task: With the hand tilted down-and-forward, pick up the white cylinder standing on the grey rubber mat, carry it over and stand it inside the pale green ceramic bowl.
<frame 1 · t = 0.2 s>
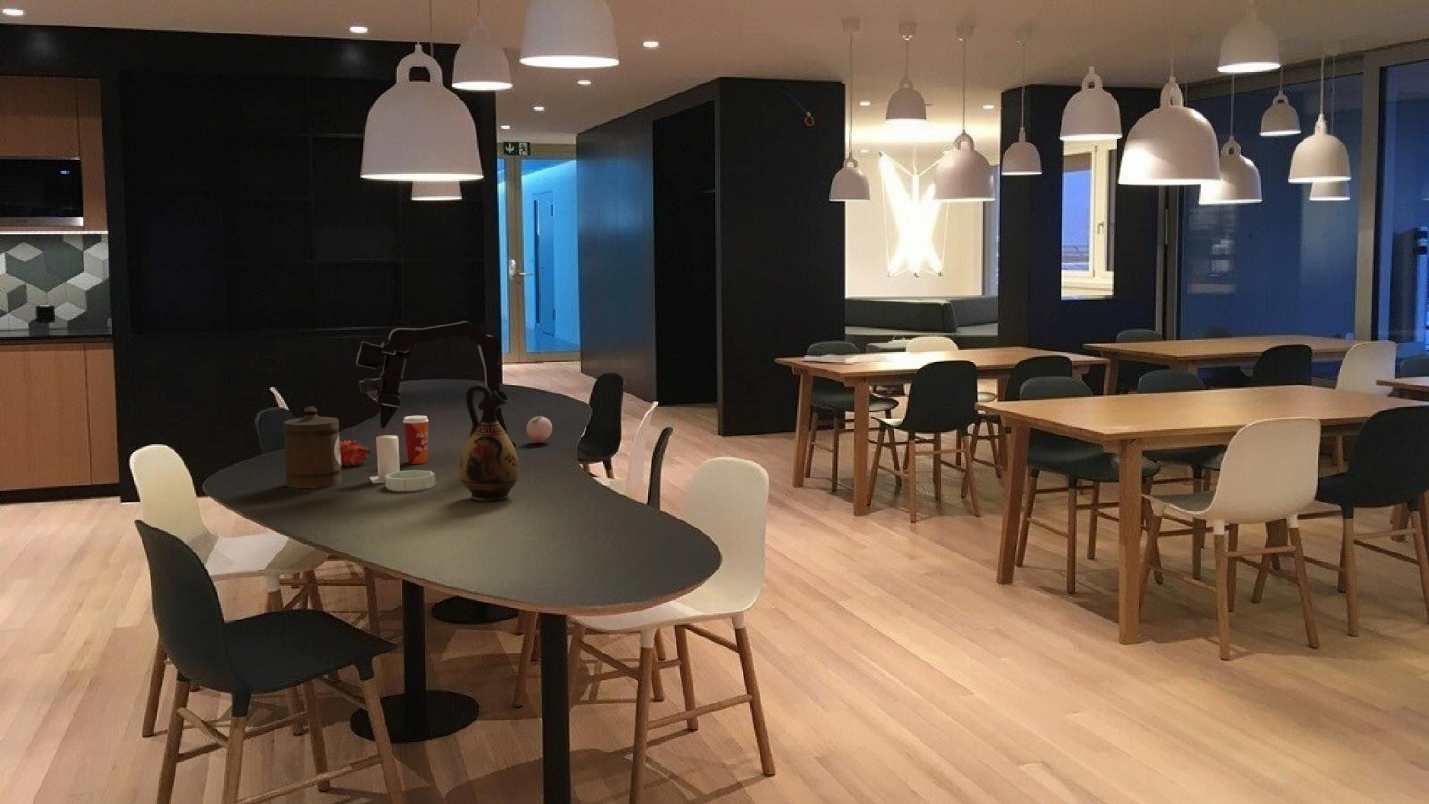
hand: (381, 426, 354), 15 cm above the table, tool pointing down, fingers open, 9 cm apart
mat: (389, 479, 355), on the table
ceramic jug: (488, 498, 329), on the table
dragon fruit: (351, 465, 379), on the table
wooden container: (314, 485, 350), on the table
bowl: (410, 487, 344), on the table
paper cup: (417, 462, 382), on the table
decorative fruit: (540, 443, 414), on the table
white cylinder: (389, 478, 355), resting on mat
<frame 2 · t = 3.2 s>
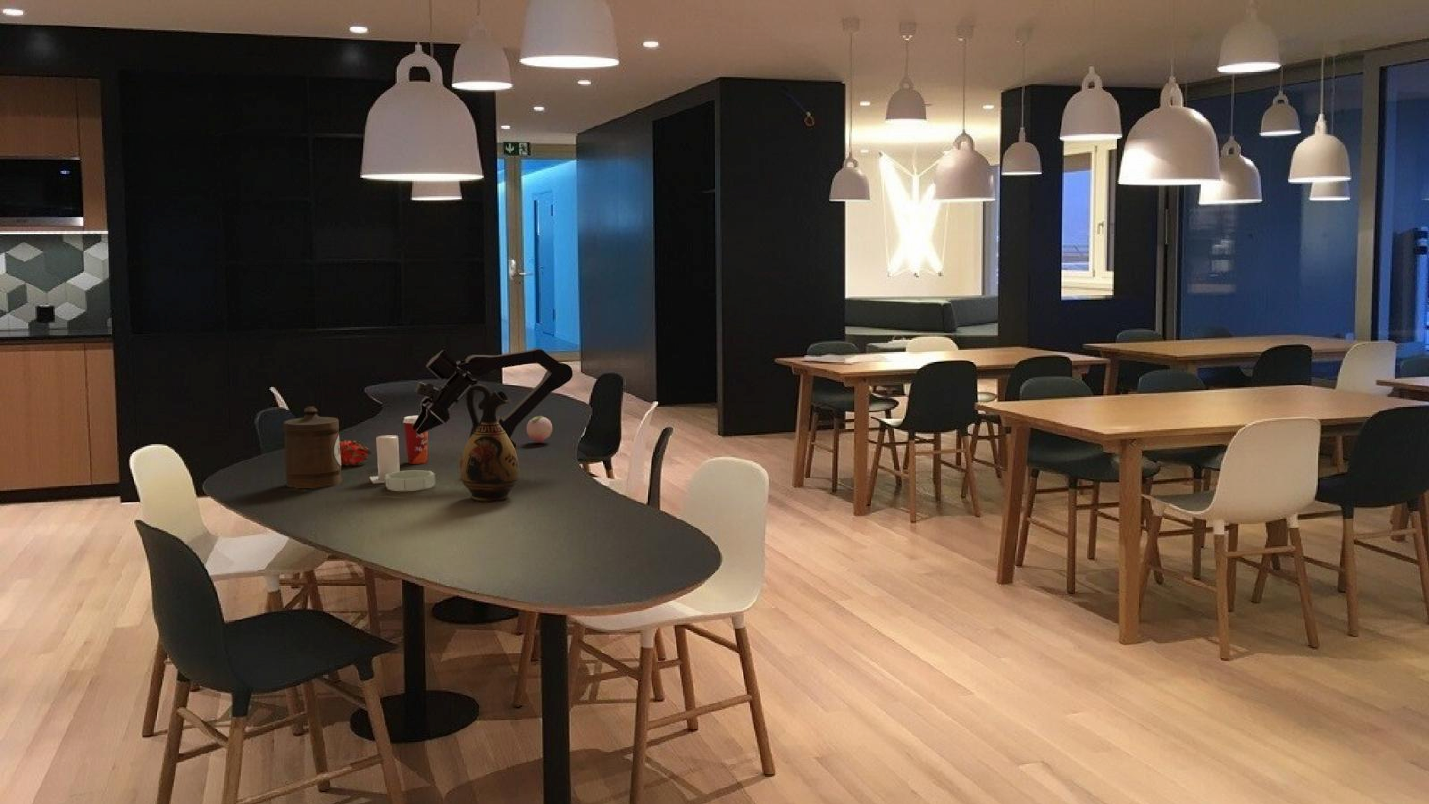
hand: (415, 431, 356), 13 cm above the table, tool tilted 45°, fingers open, 9 cm apart
nothing on the table moved.
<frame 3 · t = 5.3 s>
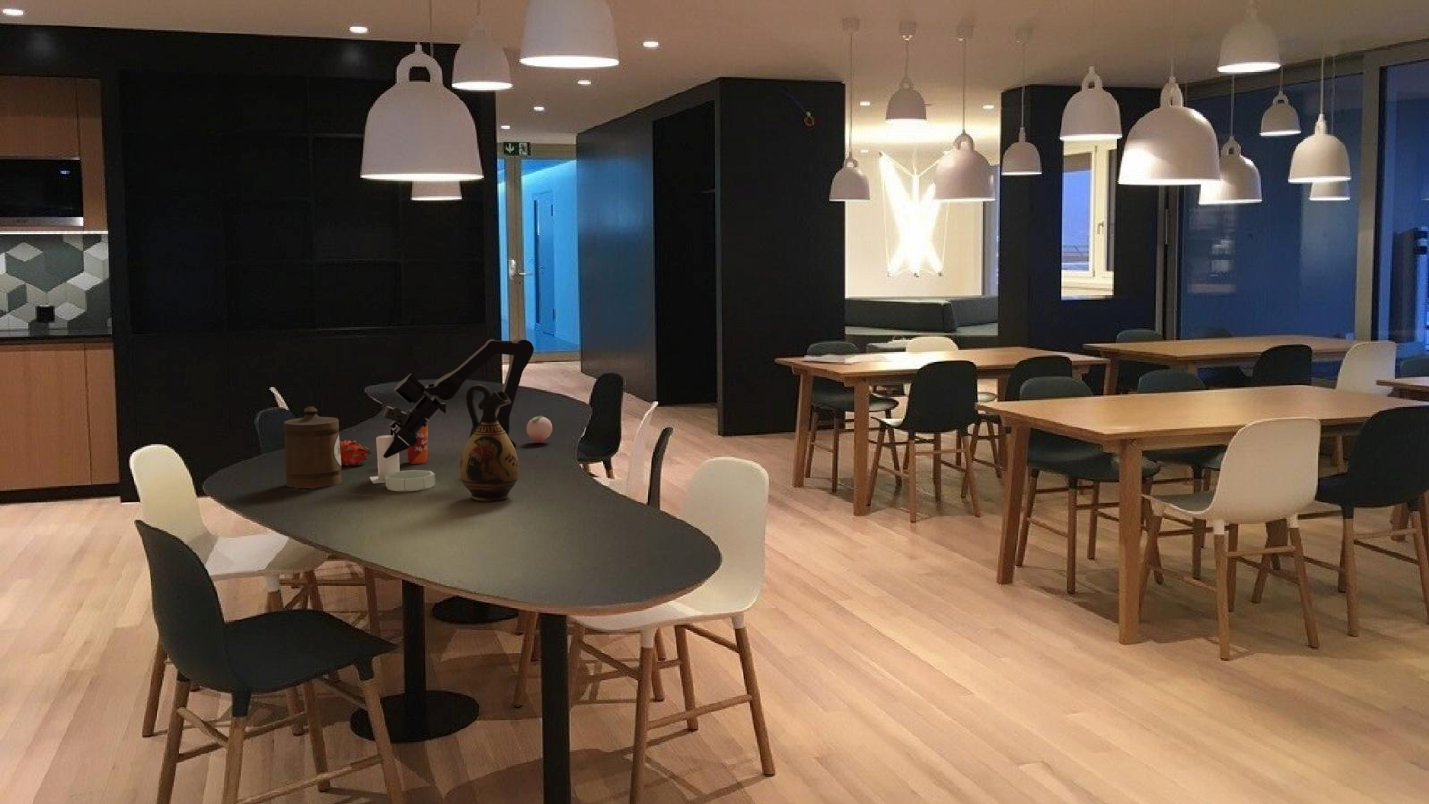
hand: (383, 455, 354), 7 cm above the table, tool tilted 45°, fingers closed on white cylinder, 6 cm apart
white cylinder: (389, 478, 355), resting on mat, touching gripper
everything else where it was.
when the fingers open (9 cm above the table, at t = 9.1 s): white cylinder drops 1 cm, resting on bowl.
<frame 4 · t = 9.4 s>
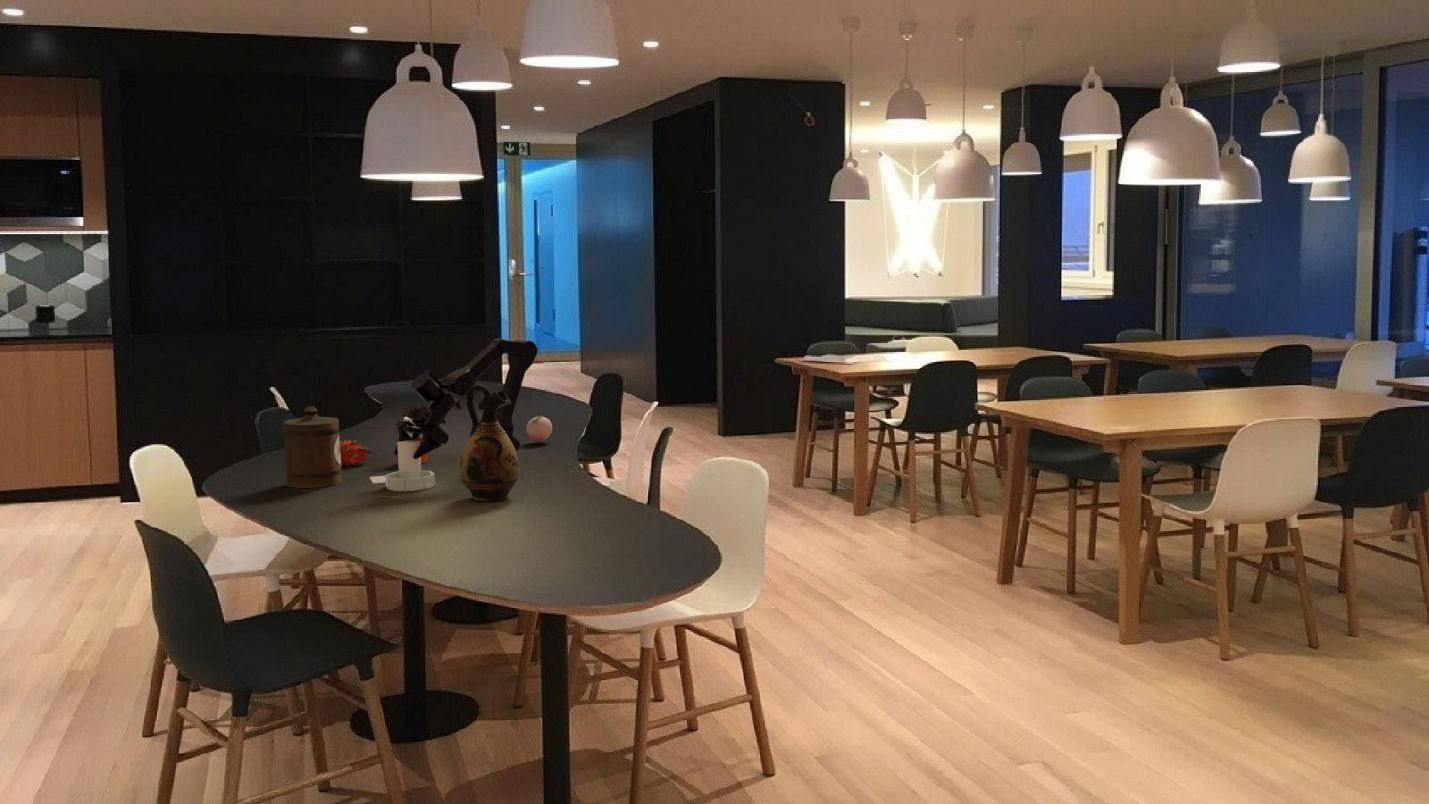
hand: (404, 456, 341), 9 cm above the table, tool tilted 45°, fingers open, 9 cm apart
white cylinder: (410, 485, 344), point 1 cm above the table, touching bowl
everything else where it was.
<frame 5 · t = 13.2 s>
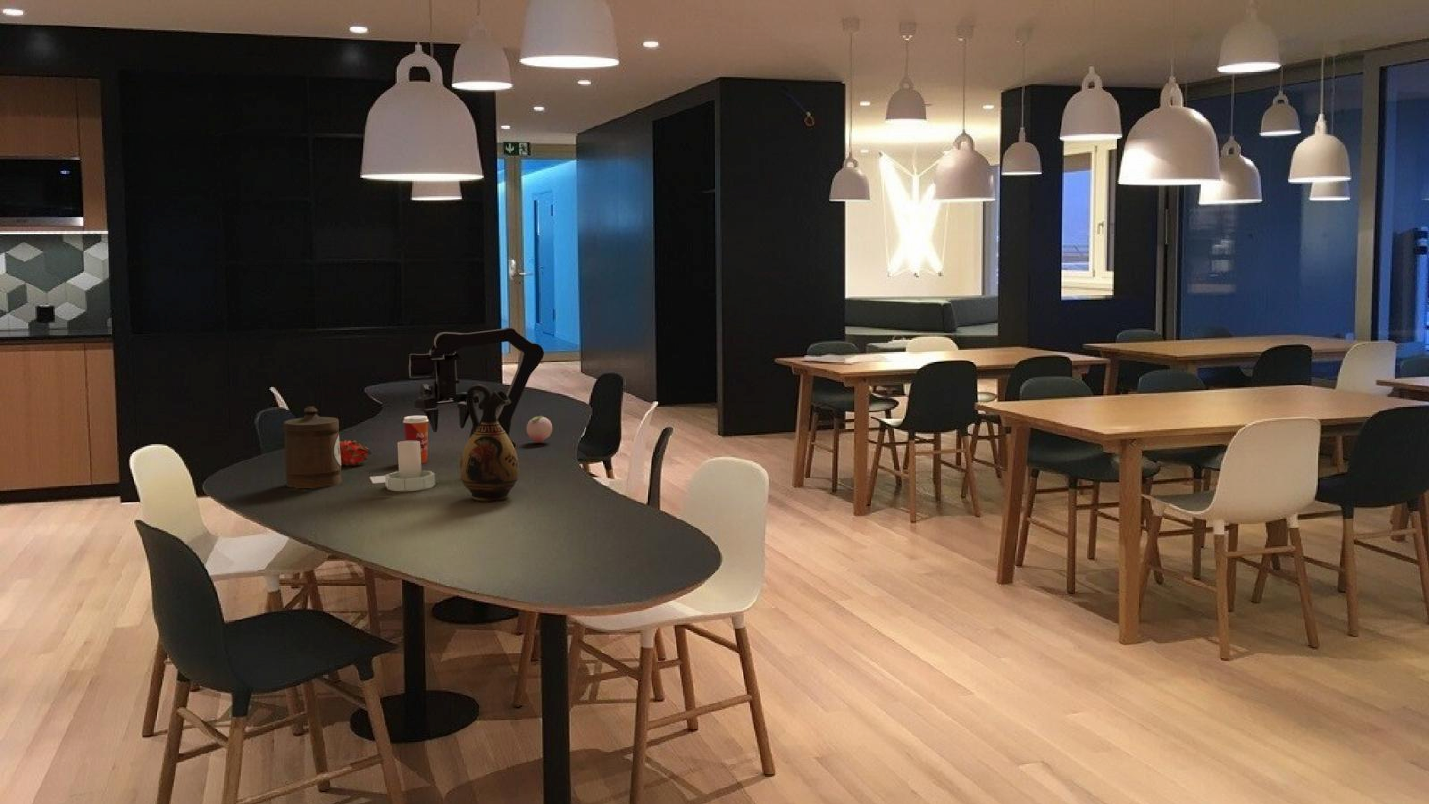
hand: (448, 430, 360), 13 cm above the table, tool pointing down, fingers open, 9 cm apart
nothing on the table moved.
at the end: white cylinder 0.1 cm from the bowl (horizontally); white cylinder point 0.6 cm above the table; white cylinder tilted 0° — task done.
